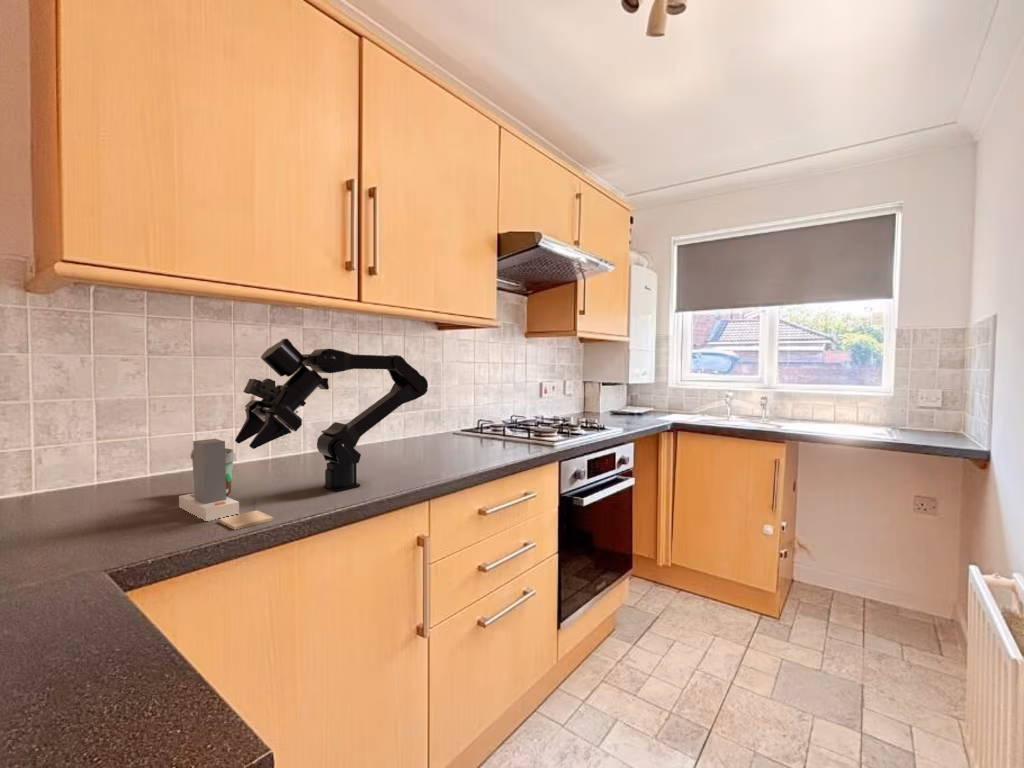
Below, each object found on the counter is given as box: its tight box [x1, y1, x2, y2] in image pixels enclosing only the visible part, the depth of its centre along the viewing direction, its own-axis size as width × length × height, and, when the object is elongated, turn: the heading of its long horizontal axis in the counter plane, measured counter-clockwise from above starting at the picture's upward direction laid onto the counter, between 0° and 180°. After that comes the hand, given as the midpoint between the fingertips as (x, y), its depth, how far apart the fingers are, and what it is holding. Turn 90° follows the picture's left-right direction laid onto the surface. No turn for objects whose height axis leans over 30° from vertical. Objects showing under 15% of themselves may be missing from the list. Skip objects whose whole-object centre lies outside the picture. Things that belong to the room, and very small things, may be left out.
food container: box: [190, 447, 237, 497], centre depth 113 cm, size 12×6×10 cm, turn 59°
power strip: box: [178, 492, 240, 522], centre depth 101 cm, size 6×19×3 cm, turn 52°
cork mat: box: [218, 510, 274, 531], centre depth 93 cm, size 7×7×1 cm
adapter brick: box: [192, 438, 227, 504], centre depth 99 cm, size 4×5×12 cm
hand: (243, 444), depth 103 cm, fingers open, 9 cm apart
